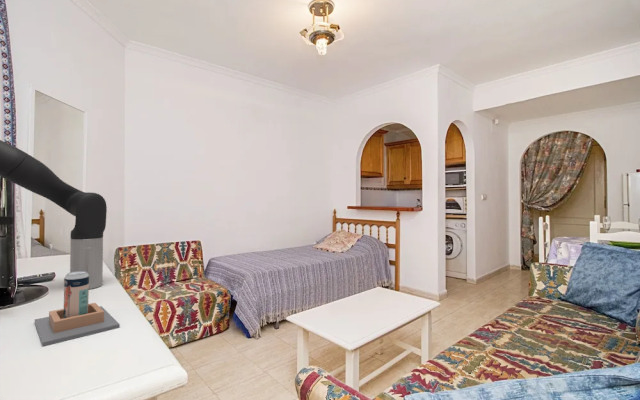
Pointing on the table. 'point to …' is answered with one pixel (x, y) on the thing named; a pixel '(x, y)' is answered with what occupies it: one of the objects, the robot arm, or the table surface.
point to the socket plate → (74, 325)
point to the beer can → (76, 294)
